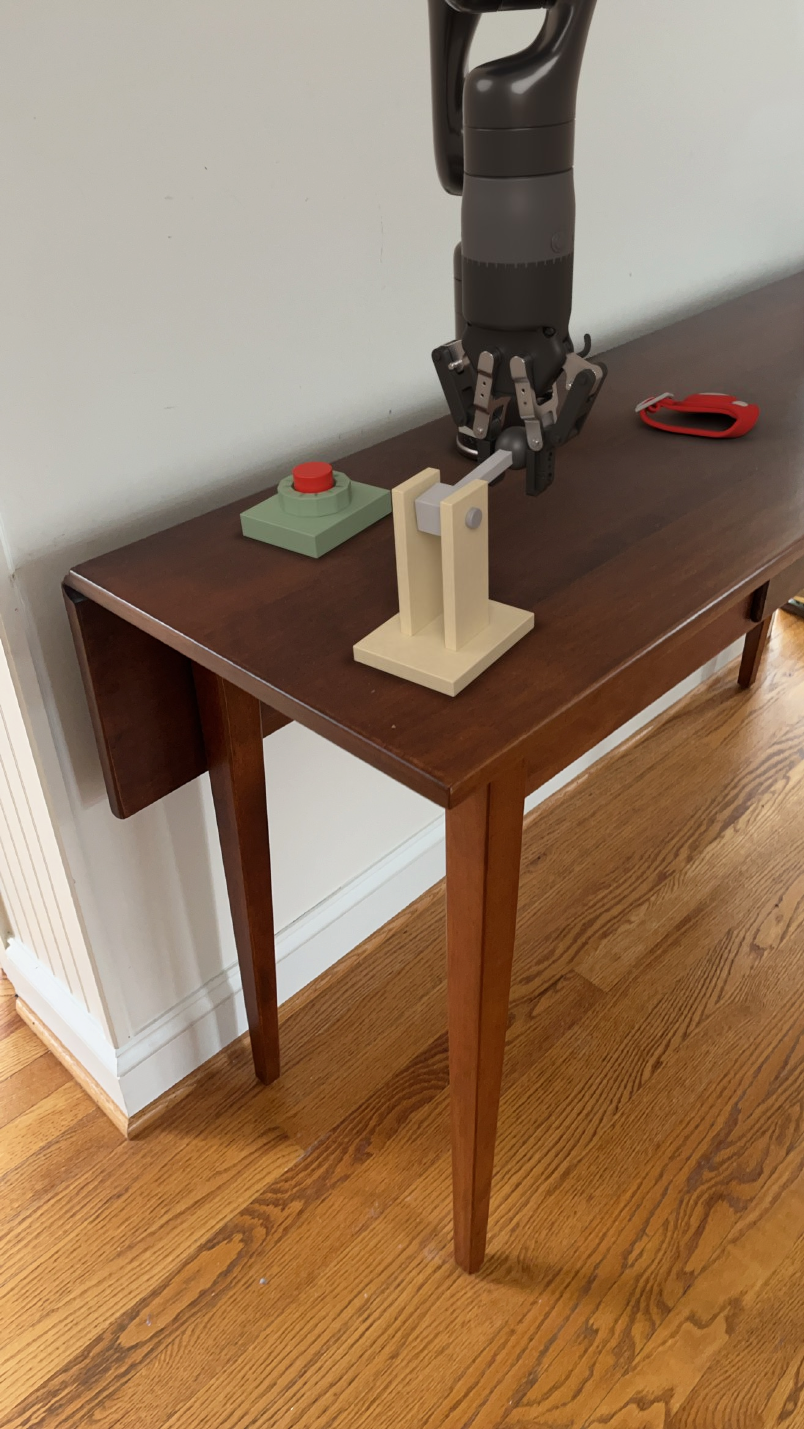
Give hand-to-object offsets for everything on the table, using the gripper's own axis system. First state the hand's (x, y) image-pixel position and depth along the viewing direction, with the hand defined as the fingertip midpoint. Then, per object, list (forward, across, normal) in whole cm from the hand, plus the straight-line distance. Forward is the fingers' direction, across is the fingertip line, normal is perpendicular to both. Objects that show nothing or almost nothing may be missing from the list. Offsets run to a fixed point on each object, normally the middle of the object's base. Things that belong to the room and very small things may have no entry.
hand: (514, 486), depth 78 cm
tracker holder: (+9, +2, -40) cm, 41 cm away
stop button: (+5, +22, -1) cm, 23 cm away
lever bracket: (+9, 0, +10) cm, 13 cm away
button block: (+9, +22, -1) cm, 24 cm away
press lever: (-1, 0, +5) cm, 5 cm away
